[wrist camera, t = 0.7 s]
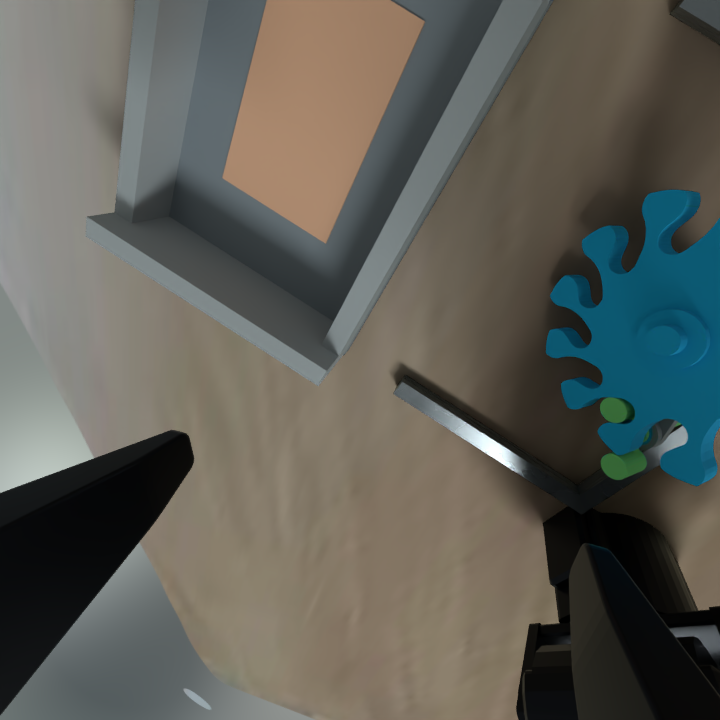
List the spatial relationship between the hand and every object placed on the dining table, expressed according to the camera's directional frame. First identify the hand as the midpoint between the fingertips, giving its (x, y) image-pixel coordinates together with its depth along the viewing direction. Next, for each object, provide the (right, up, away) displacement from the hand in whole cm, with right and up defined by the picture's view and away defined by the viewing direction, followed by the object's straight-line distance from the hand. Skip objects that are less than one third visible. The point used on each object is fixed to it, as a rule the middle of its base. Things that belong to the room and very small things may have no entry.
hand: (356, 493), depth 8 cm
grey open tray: (-2, +14, +9) cm, 16 cm away
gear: (+11, +6, +10) cm, 16 cm away
